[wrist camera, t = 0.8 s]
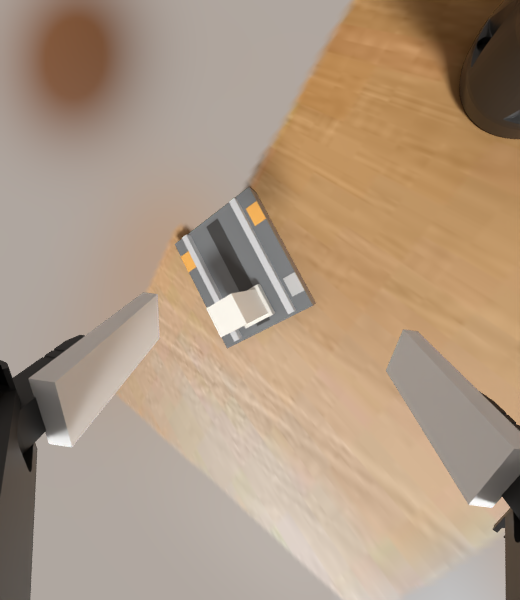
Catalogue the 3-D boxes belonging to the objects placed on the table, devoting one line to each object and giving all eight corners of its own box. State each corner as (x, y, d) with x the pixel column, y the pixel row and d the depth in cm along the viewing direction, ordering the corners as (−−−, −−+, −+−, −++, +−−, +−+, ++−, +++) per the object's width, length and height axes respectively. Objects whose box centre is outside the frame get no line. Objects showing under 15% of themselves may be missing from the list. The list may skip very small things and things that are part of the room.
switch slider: (260, 284, 38) (232, 287, 29) (275, 313, 37) (252, 325, 29) (234, 298, 39) (201, 306, 31) (248, 327, 39) (219, 342, 30)
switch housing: (256, 192, 40) (245, 184, 36) (315, 303, 38) (311, 306, 34) (185, 245, 45) (170, 243, 41) (235, 343, 44) (223, 350, 40)
